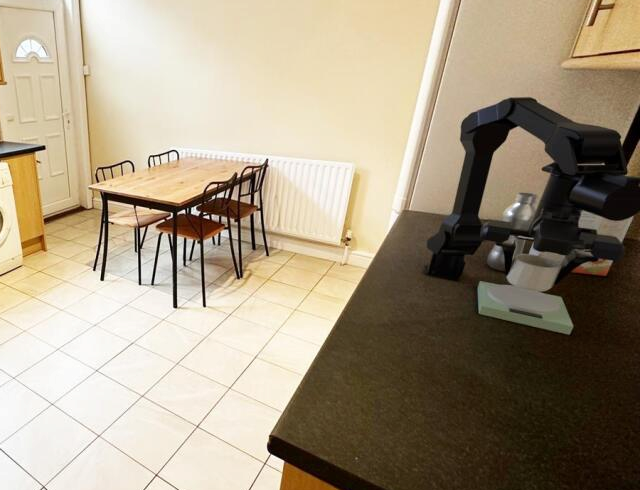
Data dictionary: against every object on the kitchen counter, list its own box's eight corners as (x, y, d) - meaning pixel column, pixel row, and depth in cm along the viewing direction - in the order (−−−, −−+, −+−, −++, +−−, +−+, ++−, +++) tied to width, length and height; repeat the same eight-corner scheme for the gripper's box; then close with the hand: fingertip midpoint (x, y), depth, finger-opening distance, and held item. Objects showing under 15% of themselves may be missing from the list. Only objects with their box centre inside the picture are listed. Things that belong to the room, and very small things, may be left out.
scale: (478, 314, 89) (482, 302, 88) (477, 288, 99) (481, 277, 98) (569, 335, 81) (575, 322, 80) (558, 304, 91) (562, 293, 90)
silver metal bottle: (489, 272, 106) (517, 197, 98) (480, 262, 112) (505, 190, 104) (521, 276, 104) (552, 199, 96) (510, 265, 109) (538, 191, 101)
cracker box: (593, 267, 107) (631, 188, 98) (606, 277, 102) (646, 195, 93) (524, 259, 112) (553, 184, 104) (533, 268, 107) (564, 190, 99)
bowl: (506, 286, 80) (515, 262, 78) (504, 273, 85) (513, 251, 83) (553, 295, 76) (564, 271, 74) (548, 281, 81) (558, 258, 79)
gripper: (495, 205, 73) (468, 282, 80) (654, 224, 63) (608, 312, 69) (493, 190, 81) (469, 262, 88) (634, 205, 71) (594, 285, 77)
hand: (529, 279), depth 80 cm, fingers closed on bowl, 6 cm apart
